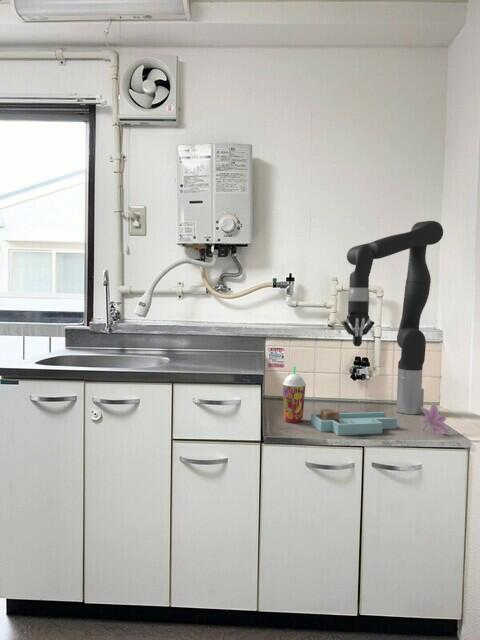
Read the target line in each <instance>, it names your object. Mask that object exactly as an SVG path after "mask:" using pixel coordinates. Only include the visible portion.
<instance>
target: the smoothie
mask: <svg viewBox="0 0 480 640" xmlns="http://www.w3.org/2000/svg"><path fill="white" fill-rule="evenodd" d="M305 382H306V381H305V380H304V379H303V377H302V376H301V375H299V374H297V373H296V366H295V365H294V366H293V373H291V374H289V375H287V376H286V377H285V378H284V381H283V382H282V401H283V418H284V421H285V422H286V423H292V424H297V423H301V422H302V420H303V419H304V418H303V417H304V409H305V407H304V406H305V398H306V397H305V395H306V385H307V384H306V383H305Z"/></svg>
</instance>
